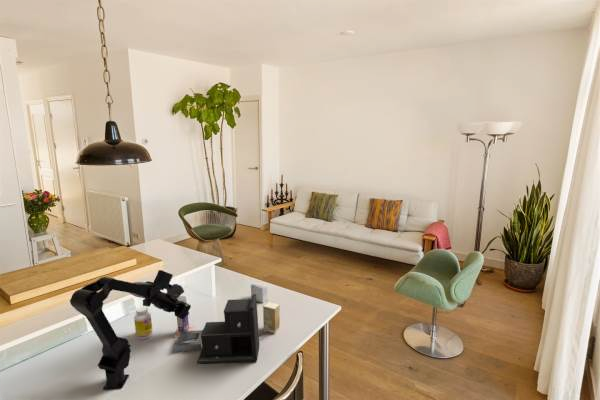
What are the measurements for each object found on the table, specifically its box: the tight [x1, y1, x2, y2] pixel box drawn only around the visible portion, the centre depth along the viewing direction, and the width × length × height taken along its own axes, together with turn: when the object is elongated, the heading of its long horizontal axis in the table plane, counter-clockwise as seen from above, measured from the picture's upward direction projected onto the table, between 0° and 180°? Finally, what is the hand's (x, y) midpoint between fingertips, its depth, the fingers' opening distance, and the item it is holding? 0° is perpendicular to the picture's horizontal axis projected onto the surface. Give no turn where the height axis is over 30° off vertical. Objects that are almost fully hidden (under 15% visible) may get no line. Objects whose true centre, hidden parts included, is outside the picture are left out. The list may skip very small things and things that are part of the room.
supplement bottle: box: [133, 305, 154, 340], centre depth 149 cm, size 7×7×13 cm
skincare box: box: [262, 301, 281, 335], centre depth 151 cm, size 6×4×12 cm
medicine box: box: [250, 281, 269, 304], centre depth 179 cm, size 8×4×9 cm, turn 58°
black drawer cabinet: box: [196, 294, 260, 365], centre depth 134 cm, size 23×11×24 cm, turn 91°
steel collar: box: [174, 329, 203, 353], centre depth 143 cm, size 10×10×3 cm
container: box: [176, 295, 190, 332], centre depth 150 cm, size 5×5×15 cm
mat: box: [173, 326, 195, 339], centre depth 152 cm, size 7×7×1 cm
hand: (184, 312), depth 151 cm, fingers closed on container, 5 cm apart
